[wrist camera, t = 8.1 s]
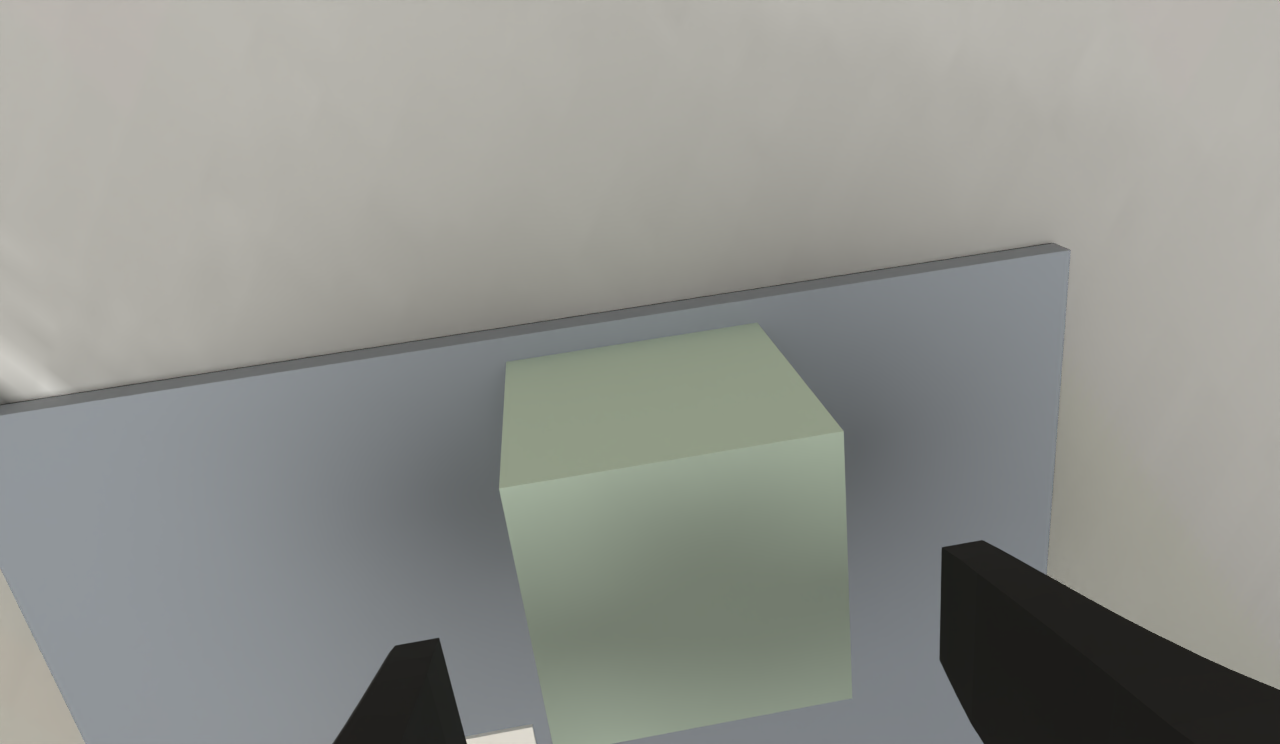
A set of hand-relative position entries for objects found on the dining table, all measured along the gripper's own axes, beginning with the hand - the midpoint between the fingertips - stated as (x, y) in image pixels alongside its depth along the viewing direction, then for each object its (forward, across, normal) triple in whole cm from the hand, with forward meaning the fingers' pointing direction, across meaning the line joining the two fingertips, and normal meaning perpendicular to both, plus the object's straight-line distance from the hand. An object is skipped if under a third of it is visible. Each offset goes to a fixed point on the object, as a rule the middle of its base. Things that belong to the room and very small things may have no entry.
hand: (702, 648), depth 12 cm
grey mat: (+7, +2, +6) cm, 9 cm away
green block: (+6, 0, 0) cm, 6 cm away
